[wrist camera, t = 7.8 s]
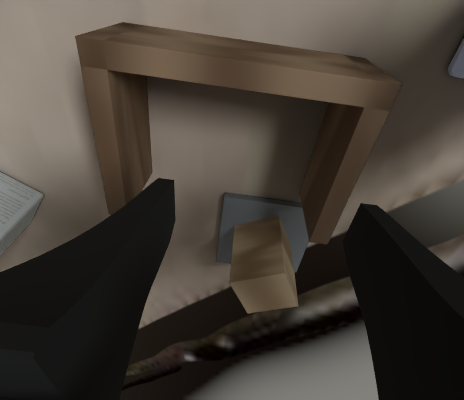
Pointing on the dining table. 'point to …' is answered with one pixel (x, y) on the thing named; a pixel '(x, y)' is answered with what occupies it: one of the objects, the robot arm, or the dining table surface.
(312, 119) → the dining table surface
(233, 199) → the mat
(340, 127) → the brown wooden arch
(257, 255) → the oak block
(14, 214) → the skincare box
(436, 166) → the dining table surface
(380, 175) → the dining table surface
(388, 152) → the dining table surface
